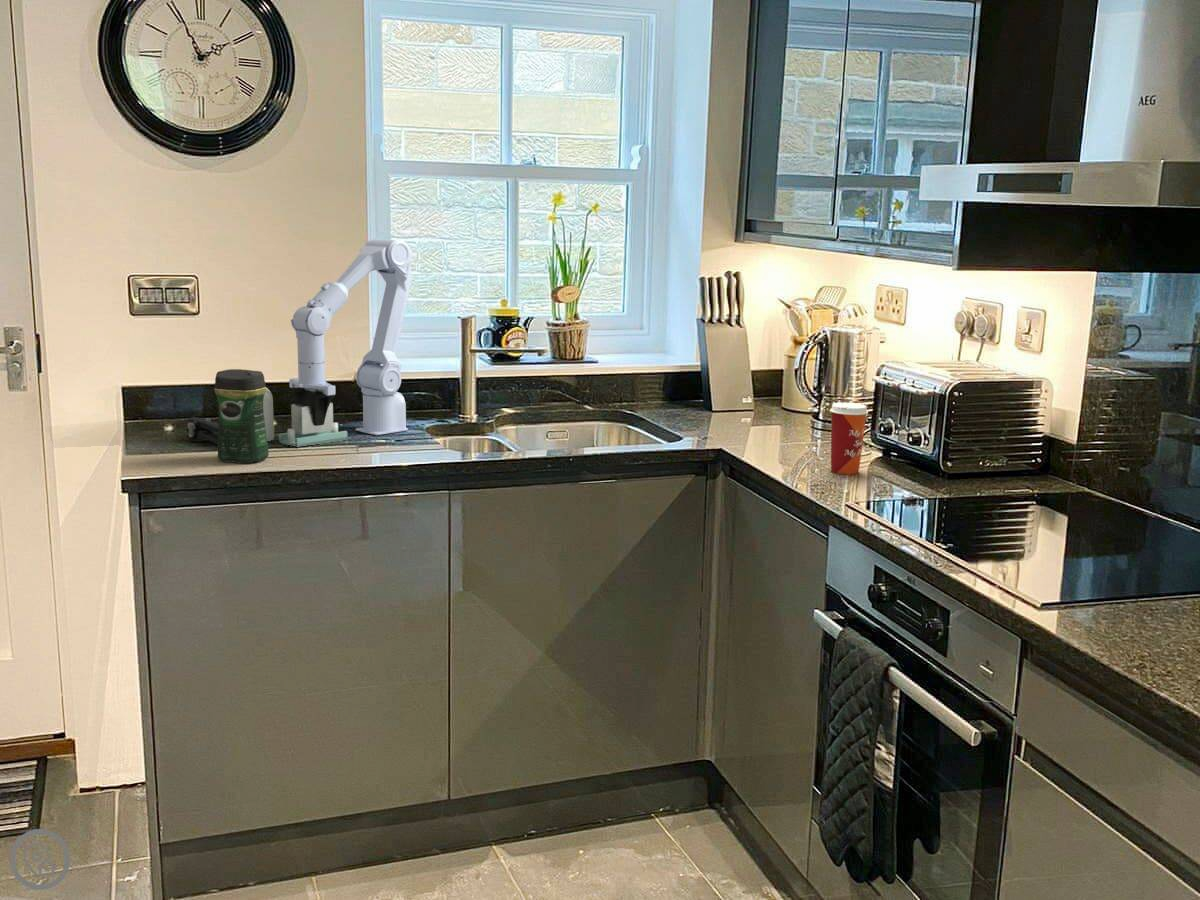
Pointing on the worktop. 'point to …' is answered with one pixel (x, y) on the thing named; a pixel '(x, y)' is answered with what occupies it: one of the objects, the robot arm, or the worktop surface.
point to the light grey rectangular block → (309, 419)
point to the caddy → (312, 437)
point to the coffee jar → (241, 416)
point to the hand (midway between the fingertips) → (313, 423)
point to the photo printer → (268, 415)
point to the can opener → (202, 430)
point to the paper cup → (847, 437)
